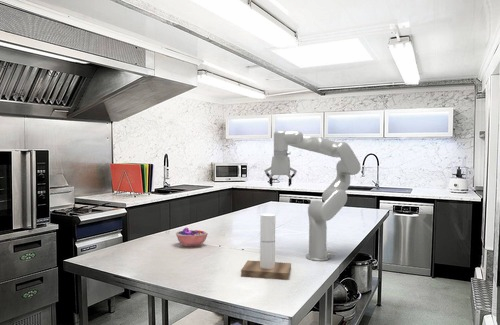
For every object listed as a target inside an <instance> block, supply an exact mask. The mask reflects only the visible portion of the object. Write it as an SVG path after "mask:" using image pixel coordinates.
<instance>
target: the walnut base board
mask: <svg viewBox="0 0 500 325" xmlns="http://www.w3.org/2000/svg"><path fill="white" fill-rule="evenodd" d="M291 270H292V263H291V262H281V261H280V262H279V261H275V267H274V268H271V269H265V268H261V267H260V260H246V262H245V263H244V265H243V267H242V268H241V269H240V277H241V278H243V277H244V278H255V279H256V278H257V279H258V278H259V279H271V280H287V281H288V280H290V275H291Z"/></svg>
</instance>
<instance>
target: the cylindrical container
mask: <svg viewBox="0 0 500 325" xmlns="http://www.w3.org/2000/svg"><path fill="white" fill-rule="evenodd" d="M259 223H260V225H259V226H260V228H259V229H260V230H259V231H260V232H259V234H260V239H259V261H260V267H261V268H265V269H271V268H274V267H275V262H276V214H274V213H260V222H259Z"/></svg>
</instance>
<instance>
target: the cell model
mask: <svg viewBox="0 0 500 325" xmlns="http://www.w3.org/2000/svg"><path fill="white" fill-rule="evenodd" d="M175 235H176V238H177V241H178V242H179V243H180V244H181V245H183V246H184V247H199V246H201V245H202V244H203V243H205V241H206V239H207V237H208V235H209V234H208V232H206V231H204V230H201V229H200V230H198V229H194V230H192V229H191V230H190V229H189V228H188V227H185V228H183V229H182V230H180V231H177V232H175Z"/></svg>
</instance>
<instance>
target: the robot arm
mask: <svg viewBox="0 0 500 325" xmlns="http://www.w3.org/2000/svg"><path fill="white" fill-rule="evenodd" d="M303 134H304V133H302V132H301V131H299V130H290V131H289V130H276V131H274V133H273V156H272V157H271V165H270V167H268V168H266V169H264V174H265V176H267V177H268V179H269V181H268V182H269V183H268V184H269V185H270V187H272V186H273V183H274V182H273V179H274V178H273V176H287V177H288V187H291V185H292V180H293V178H294V177H295V175H297V172H298V171H297V170H296V169H294V168H293V167H291V160H290V156H289V155H291V151H289V146H290V147H293V148H297V149H301V150H306V151H309V152H312V153H313V152H314V153H317V154H320V155H321V154H322V155H324V156H328V157H331V158H340V160H339V161H338V162H337V163H336V166H335V168H336V177H335V179H334V180H333V181H332V182H331V183H330V185H329V186H328V187H326V189H324V191H323V193H322V195H321V198H322V200H323V201H321V200H314V201H312V202H310V203H309V204H308V207H307V215H308V224H309V225H308V253H306V254H305V258H306V259H308V260H310V261H314V262H315V261H316V262H318V261H319V262H325V261H328V260H329V259H330V257H335V256H336V252H333V251H328V249H327V232H328V230H327V228H328V227H327V225H328V224H327V222H328V221H330V220H332V219H333V218H334V217H335V216H336V215H337V214H338V213H339V212H340V211H341V209H342V208H343V207H344V206H345V205H346V203H347V201H348V194H347V192H346V191H347V190H348V188H349V187H350V186H351V176H353V175H354V176H355V175H357V174H359V173H360V171H361V169H362V168H361V167H362V166H361V162H360V160H359V159H358V157H357V156H356V154H355V153H354V151H353V149H352V147H351V146H350V145H349V143H347V142H345V141H334V140H330V139H326V138H323V137H320V136H307V135H303ZM269 171H270V174H269ZM291 171H292V172H293V173H292V174H291Z"/></svg>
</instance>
